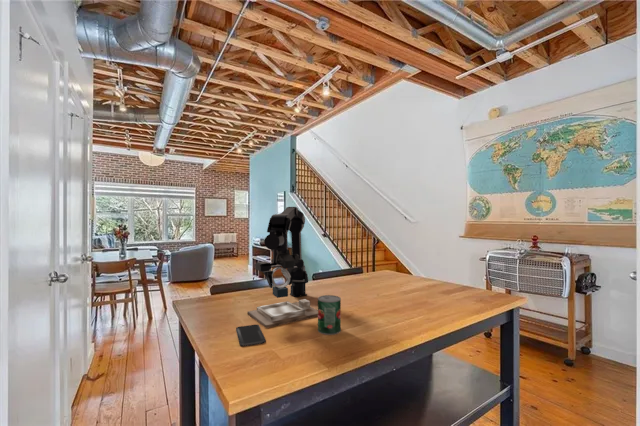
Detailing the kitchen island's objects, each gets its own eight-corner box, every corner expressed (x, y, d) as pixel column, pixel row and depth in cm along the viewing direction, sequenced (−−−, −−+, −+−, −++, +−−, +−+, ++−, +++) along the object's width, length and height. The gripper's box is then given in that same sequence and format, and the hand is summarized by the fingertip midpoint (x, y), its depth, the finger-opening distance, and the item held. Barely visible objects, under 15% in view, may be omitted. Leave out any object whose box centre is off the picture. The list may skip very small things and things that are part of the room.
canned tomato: (345, 332, 101) (345, 299, 102) (325, 336, 98) (325, 302, 98) (332, 324, 108) (332, 294, 108) (313, 328, 104) (313, 297, 105)
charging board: (299, 303, 133) (299, 294, 133) (322, 315, 119) (322, 304, 119) (247, 314, 120) (247, 304, 120) (266, 328, 105) (266, 316, 105)
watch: (292, 295, 118) (292, 267, 118) (273, 298, 114) (273, 269, 114) (287, 292, 123) (287, 265, 123) (268, 294, 119) (268, 267, 119)
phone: (240, 344, 90) (235, 327, 104) (240, 348, 90) (235, 330, 104) (266, 340, 93) (258, 324, 107) (266, 344, 93) (258, 327, 107)
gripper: (266, 250, 106) (266, 294, 106) (311, 247, 117) (311, 287, 117) (254, 247, 115) (254, 288, 116) (296, 244, 126) (297, 281, 126)
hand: (280, 286), depth 118 cm, fingers closed on watch, 8 cm apart
